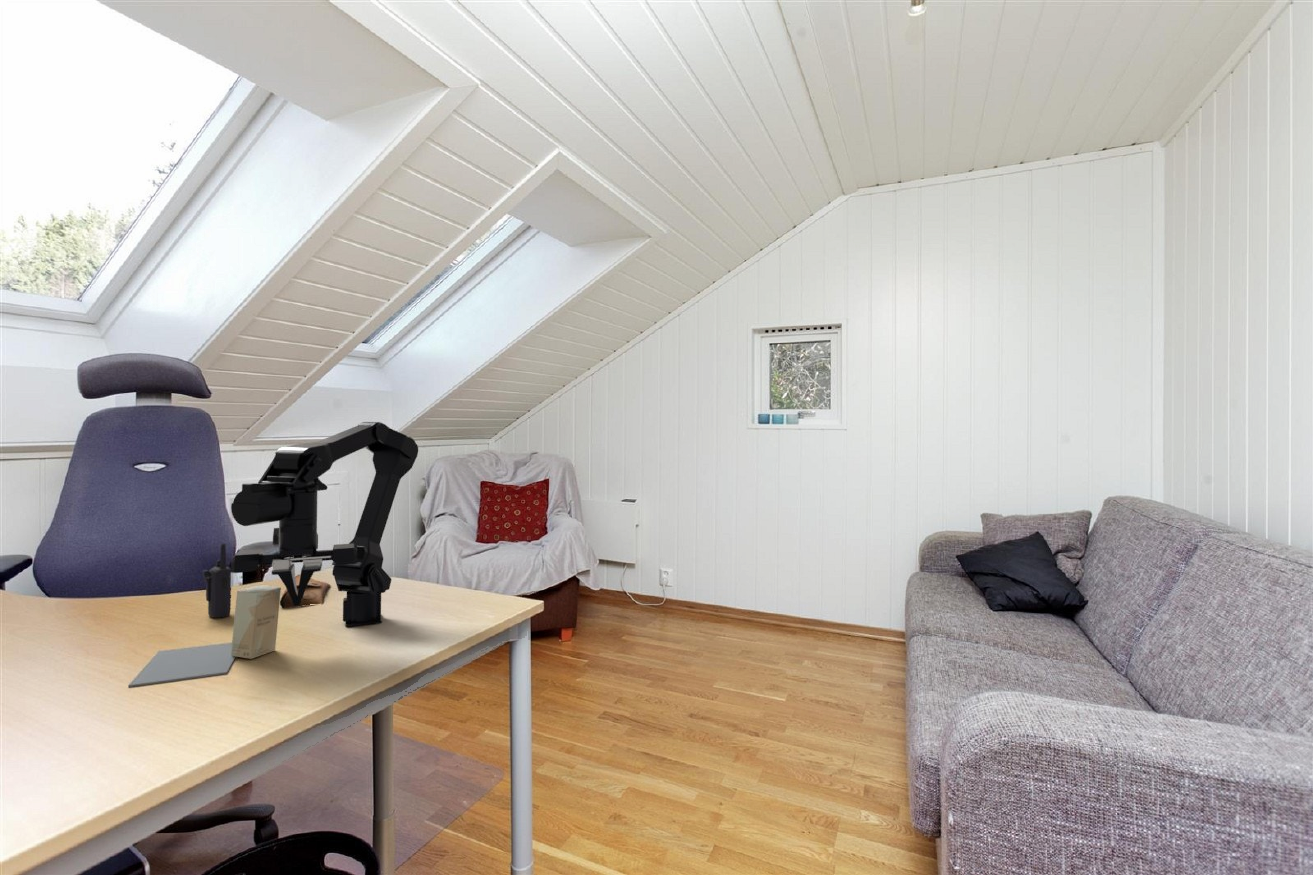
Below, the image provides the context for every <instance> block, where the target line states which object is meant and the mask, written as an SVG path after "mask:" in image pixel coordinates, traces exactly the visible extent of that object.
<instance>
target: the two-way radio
mask: <svg viewBox="0 0 1313 875" xmlns="http://www.w3.org/2000/svg"><path fill="white" fill-rule="evenodd" d="M226 546H227V545H226V544H225V543H221V544H220V552H219V553H220V554H219V555H220V556H219V557H220V558H219V559H217V560H216V564H215V566H213V567H212V568H210V569H209V570H207V569H205V570H202V576H203V578H204V581H205V592H206V593H205V600H206V601H207V602H208V603H207V604H208V605H207V609H208V610H207V612H208V613H207V614H208V616H209V617H210V618H216V619H220V618H226V617H229V616H230V614H231V609H232V608H231V605H232V604H231V601H232V600H231V598H232V593H231V592H232V586H231V584H232V573H231V567H228V566H227V553H226V552H227V548H226Z"/></svg>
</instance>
